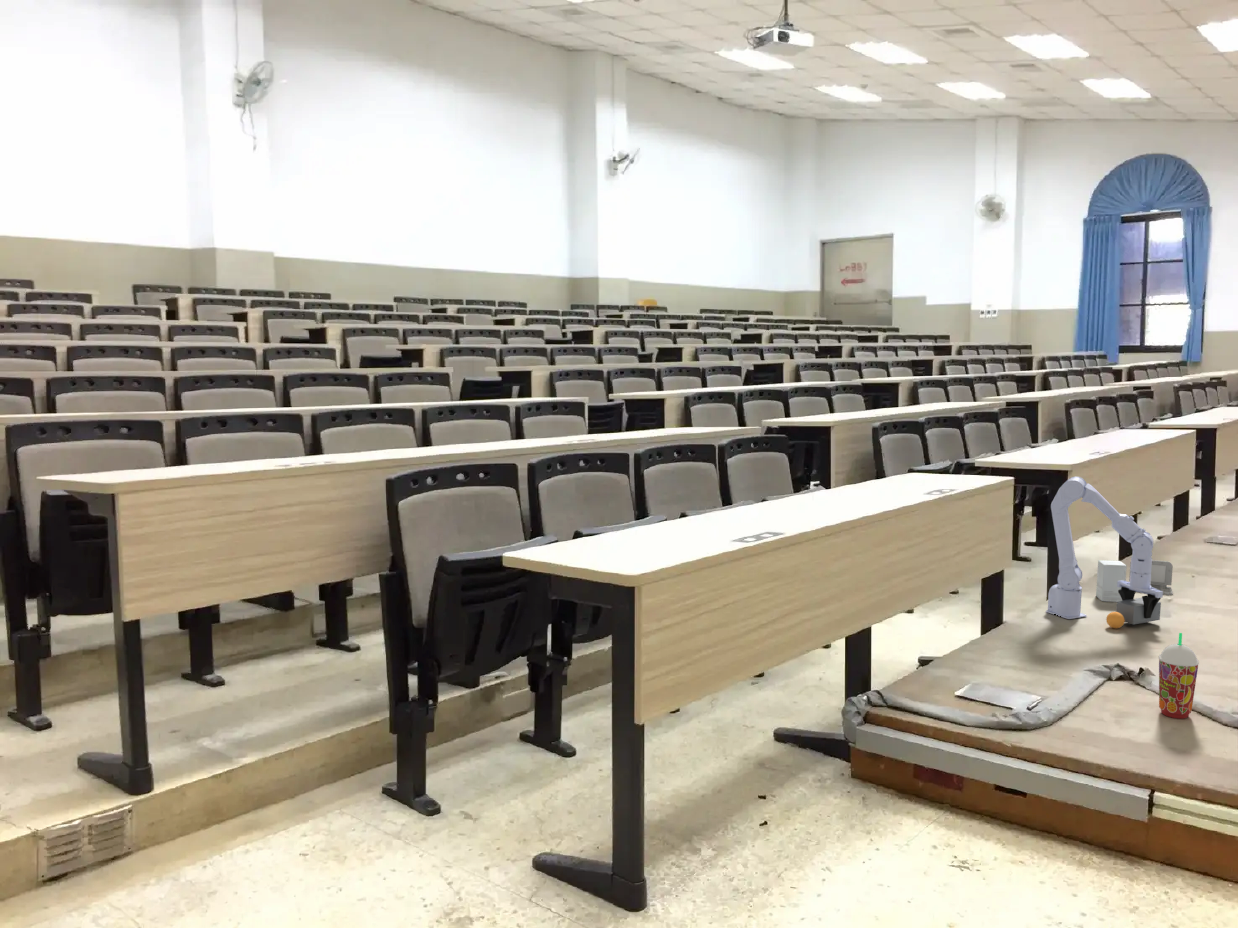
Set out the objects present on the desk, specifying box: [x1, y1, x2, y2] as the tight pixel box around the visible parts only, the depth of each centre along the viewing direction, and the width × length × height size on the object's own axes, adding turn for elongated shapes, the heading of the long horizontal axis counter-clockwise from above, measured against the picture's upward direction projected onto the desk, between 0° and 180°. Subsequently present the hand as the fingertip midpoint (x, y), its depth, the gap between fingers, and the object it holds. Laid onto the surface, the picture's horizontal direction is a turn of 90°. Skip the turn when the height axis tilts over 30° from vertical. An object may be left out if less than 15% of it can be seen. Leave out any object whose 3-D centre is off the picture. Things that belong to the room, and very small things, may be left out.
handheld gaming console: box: [1128, 559, 1174, 596], centre depth 351 cm, size 13×9×10 cm
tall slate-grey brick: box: [1115, 597, 1162, 625], centre depth 312 cm, size 6×12×6 cm, turn 114°
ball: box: [1105, 611, 1126, 629], centre depth 308 cm, size 5×5×5 cm
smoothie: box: [1158, 632, 1200, 720], centre depth 239 cm, size 8×8×20 cm
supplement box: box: [1095, 559, 1127, 603], centre depth 340 cm, size 7×7×13 cm
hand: (1137, 615), depth 312 cm, fingers closed on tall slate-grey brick, 6 cm apart
